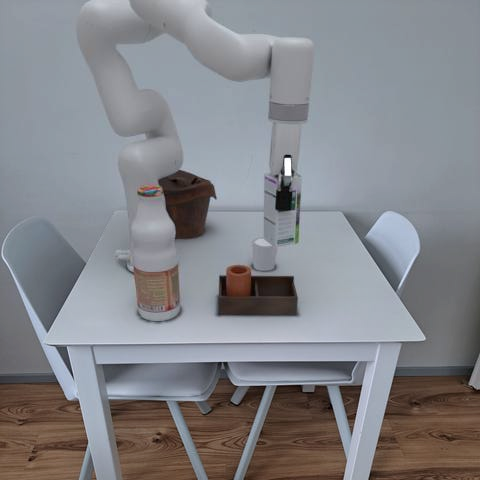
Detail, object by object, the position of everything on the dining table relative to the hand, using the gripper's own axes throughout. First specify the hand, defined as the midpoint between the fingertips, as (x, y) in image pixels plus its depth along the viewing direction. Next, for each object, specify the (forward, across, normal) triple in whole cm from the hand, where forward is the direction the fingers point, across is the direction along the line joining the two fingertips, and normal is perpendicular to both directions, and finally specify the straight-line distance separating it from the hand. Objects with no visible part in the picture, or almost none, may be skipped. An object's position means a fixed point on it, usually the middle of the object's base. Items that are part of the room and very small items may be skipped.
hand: (281, 202), depth 103 cm
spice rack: (+24, +1, -4) cm, 24 cm away
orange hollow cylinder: (+24, +1, -8) cm, 25 cm away
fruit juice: (+24, +5, -26) cm, 36 cm away
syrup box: (+9, 0, 0) cm, 9 cm away
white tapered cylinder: (+24, -20, -1) cm, 31 cm away
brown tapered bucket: (+25, -44, -24) cm, 56 cm away
